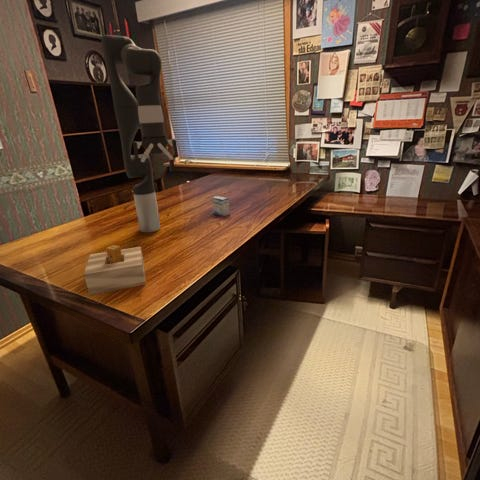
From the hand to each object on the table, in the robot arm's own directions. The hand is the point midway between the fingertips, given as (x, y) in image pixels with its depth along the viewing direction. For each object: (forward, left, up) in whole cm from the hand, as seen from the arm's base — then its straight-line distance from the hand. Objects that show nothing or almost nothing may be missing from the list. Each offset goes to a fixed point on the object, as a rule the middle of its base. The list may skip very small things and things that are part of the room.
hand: (159, 171), depth 103 cm
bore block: (+15, -18, -30) cm, 38 cm away
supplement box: (+15, -18, -29) cm, 37 cm away
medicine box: (-36, +30, -30) cm, 56 cm away
